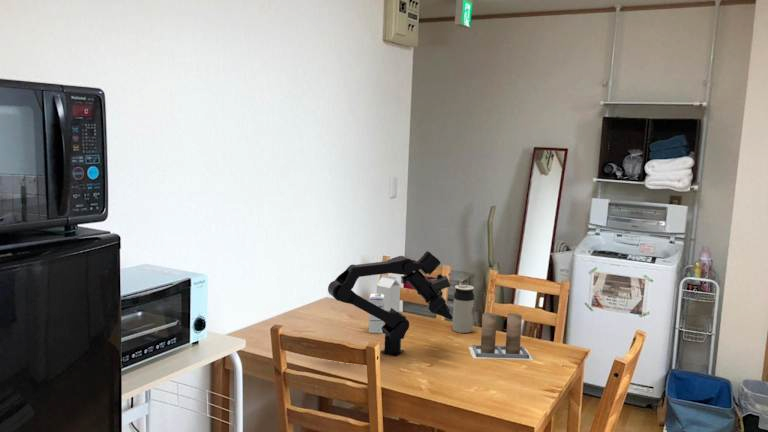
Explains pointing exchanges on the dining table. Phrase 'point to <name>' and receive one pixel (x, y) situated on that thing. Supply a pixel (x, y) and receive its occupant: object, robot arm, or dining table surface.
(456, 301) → the travel mug
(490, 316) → the billet
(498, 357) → the pallet board
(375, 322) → the syrup box
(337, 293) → the robot arm
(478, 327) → the dining table surface
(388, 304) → the milk carton
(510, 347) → the billet
